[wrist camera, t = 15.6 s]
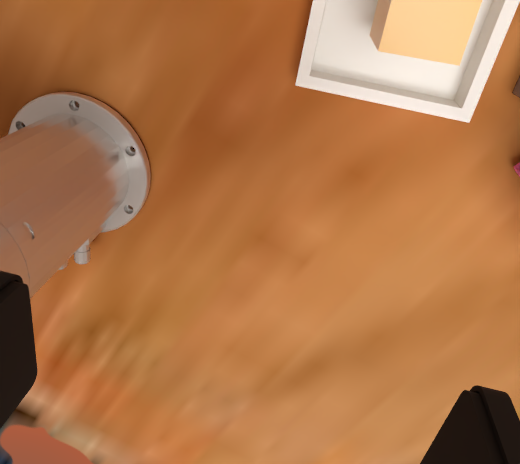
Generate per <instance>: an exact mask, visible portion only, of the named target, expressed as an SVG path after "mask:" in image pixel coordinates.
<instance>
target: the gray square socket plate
mask: <svg viewBox="0 0 520 464" xmlns="http://www.w3.org/2000/svg"><path fill="white" fill-rule="evenodd" d="M513 94H515V95H516V96H518V97H519V98H520V77H519V79H518V81H517V84H516V86H515V88H514V90H513Z"/></svg>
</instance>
